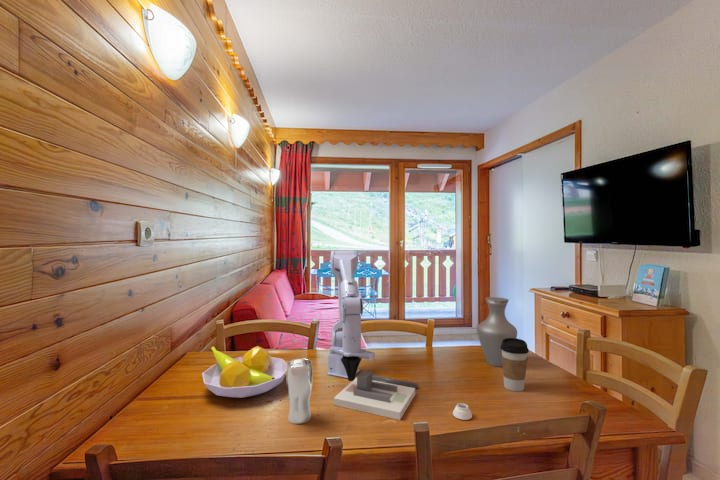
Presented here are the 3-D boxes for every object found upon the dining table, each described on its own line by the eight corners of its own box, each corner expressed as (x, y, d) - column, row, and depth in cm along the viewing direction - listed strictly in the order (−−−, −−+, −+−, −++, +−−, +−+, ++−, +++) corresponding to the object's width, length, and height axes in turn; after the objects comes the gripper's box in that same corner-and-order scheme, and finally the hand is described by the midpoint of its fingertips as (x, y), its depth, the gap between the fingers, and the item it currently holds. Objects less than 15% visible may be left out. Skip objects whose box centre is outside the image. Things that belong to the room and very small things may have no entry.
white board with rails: (333, 404, 99) (333, 392, 99) (362, 377, 119) (362, 367, 119) (399, 420, 91) (399, 407, 91) (419, 387, 111) (419, 376, 111)
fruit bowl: (305, 386, 112) (305, 351, 112) (224, 418, 92) (224, 376, 92) (259, 364, 131) (259, 334, 131) (184, 387, 111) (184, 352, 111)
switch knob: (357, 392, 102) (357, 375, 102) (363, 386, 107) (363, 370, 107) (366, 394, 101) (366, 377, 101) (372, 387, 106) (372, 371, 106)
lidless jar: (459, 422, 90) (475, 419, 92) (459, 411, 90) (475, 408, 92) (449, 413, 95) (464, 410, 97) (449, 402, 95) (465, 400, 97)
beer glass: (317, 413, 94) (317, 359, 94) (304, 427, 88) (305, 369, 88) (294, 409, 97) (294, 356, 97) (281, 422, 90) (281, 365, 90)
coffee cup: (528, 384, 113) (528, 339, 113) (528, 395, 106) (529, 347, 105) (500, 380, 117) (501, 336, 117) (499, 390, 109) (499, 343, 109)
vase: (482, 354, 142) (483, 294, 142) (520, 362, 133) (521, 298, 133) (471, 365, 130) (472, 299, 130) (512, 374, 122) (512, 304, 121)
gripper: (324, 336, 105) (324, 380, 105) (368, 342, 99) (368, 389, 99) (335, 330, 111) (335, 372, 112) (377, 336, 105) (377, 380, 106)
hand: (351, 379), depth 106 cm, fingers closed
